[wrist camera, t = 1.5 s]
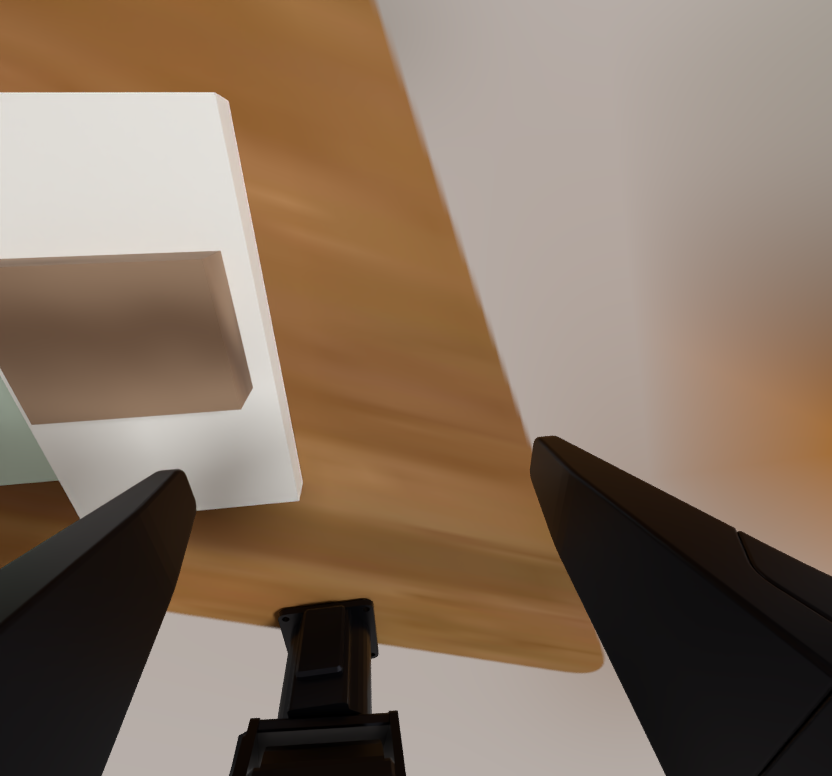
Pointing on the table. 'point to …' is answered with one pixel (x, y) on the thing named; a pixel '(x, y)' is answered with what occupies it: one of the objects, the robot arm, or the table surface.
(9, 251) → the plate
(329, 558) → the table surface
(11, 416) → the mat
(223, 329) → the walnut tile
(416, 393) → the table surface
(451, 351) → the table surface
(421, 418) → the table surface
